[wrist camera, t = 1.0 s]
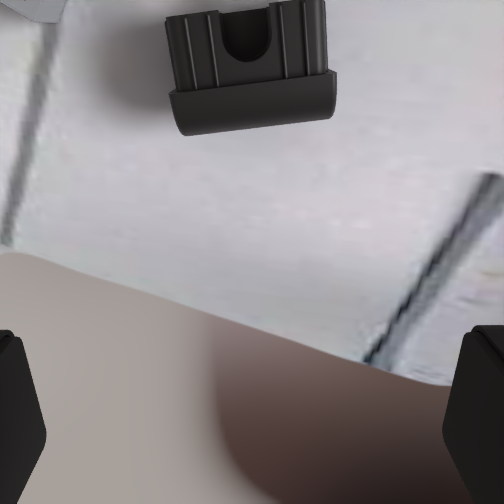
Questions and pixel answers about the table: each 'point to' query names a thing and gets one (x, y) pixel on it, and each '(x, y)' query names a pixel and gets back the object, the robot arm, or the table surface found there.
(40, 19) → the rectangular tray
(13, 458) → the robot arm
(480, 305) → the table surface
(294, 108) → the end cap
